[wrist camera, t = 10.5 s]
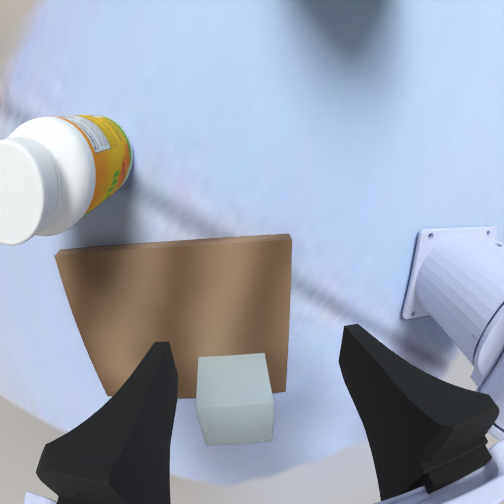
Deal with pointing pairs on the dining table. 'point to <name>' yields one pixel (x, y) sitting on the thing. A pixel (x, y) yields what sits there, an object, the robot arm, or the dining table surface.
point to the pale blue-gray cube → (234, 399)
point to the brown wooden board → (181, 303)
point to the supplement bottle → (59, 173)
